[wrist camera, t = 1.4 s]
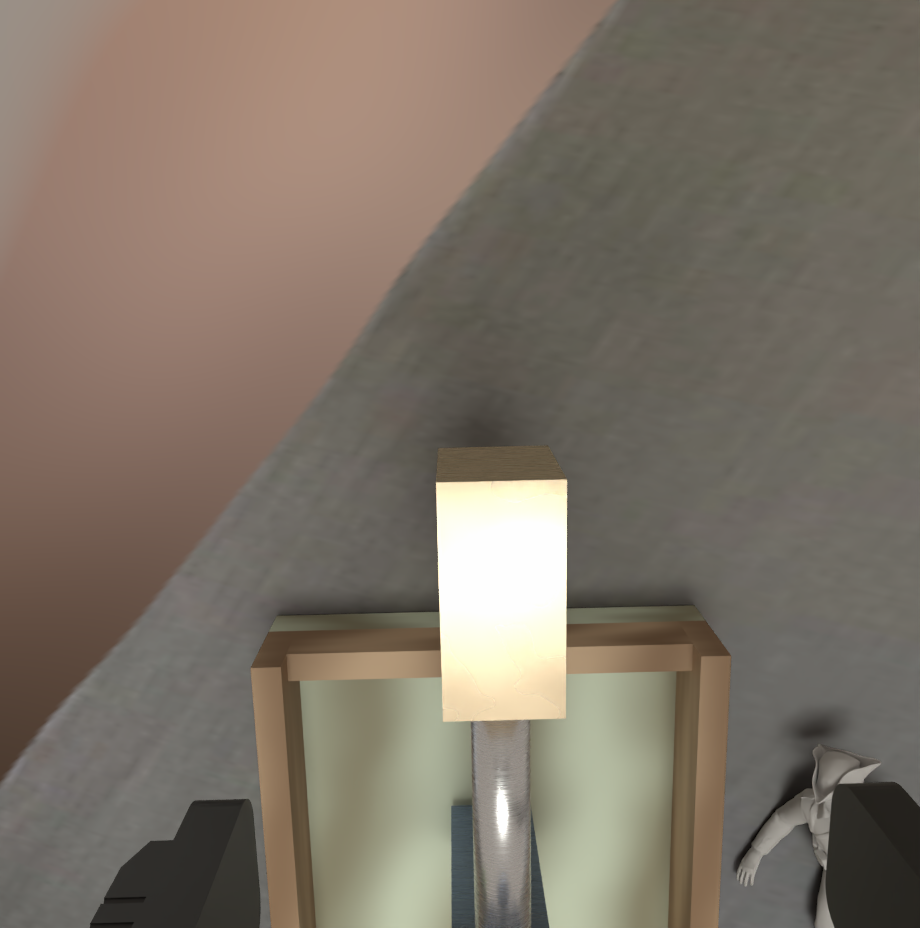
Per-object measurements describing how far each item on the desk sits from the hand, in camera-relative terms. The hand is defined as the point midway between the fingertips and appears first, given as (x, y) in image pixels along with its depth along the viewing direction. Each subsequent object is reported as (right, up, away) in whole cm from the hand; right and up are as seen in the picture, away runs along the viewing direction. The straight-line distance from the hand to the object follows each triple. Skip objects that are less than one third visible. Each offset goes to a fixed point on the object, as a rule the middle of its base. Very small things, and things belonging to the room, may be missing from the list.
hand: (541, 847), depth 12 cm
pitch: (0, -15, +25) cm, 29 cm away
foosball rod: (0, -1, +20) cm, 20 cm away
